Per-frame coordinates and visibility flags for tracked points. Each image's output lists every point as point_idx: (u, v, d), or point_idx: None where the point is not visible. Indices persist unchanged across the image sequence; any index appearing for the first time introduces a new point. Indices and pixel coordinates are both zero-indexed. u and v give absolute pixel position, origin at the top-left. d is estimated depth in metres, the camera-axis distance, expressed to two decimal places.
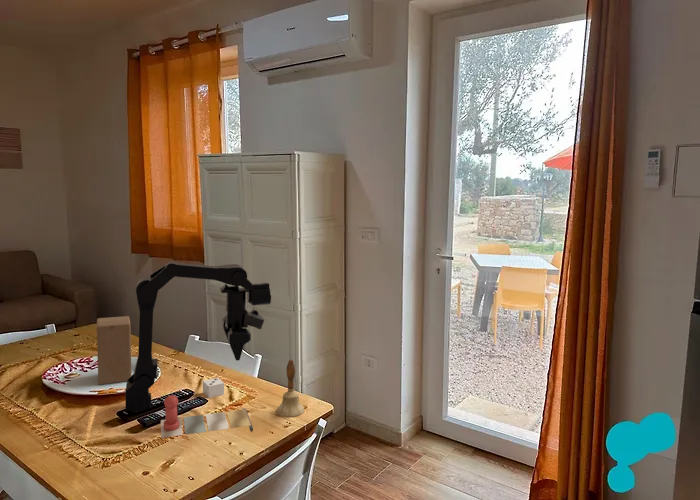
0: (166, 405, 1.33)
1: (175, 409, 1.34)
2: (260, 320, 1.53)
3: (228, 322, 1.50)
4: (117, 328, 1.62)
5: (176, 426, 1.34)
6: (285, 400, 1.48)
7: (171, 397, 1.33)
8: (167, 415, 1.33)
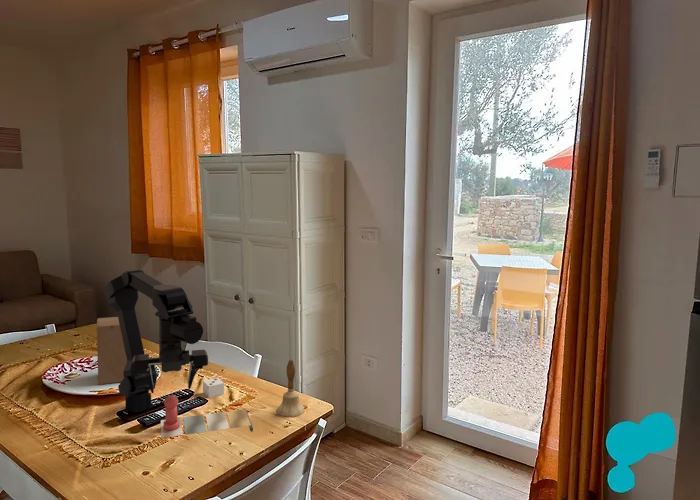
0: (166, 405, 1.33)
1: (175, 409, 1.34)
2: (161, 360, 1.25)
3: None
4: (117, 328, 1.62)
5: (176, 426, 1.34)
6: (285, 400, 1.48)
7: (171, 397, 1.33)
8: (167, 415, 1.33)
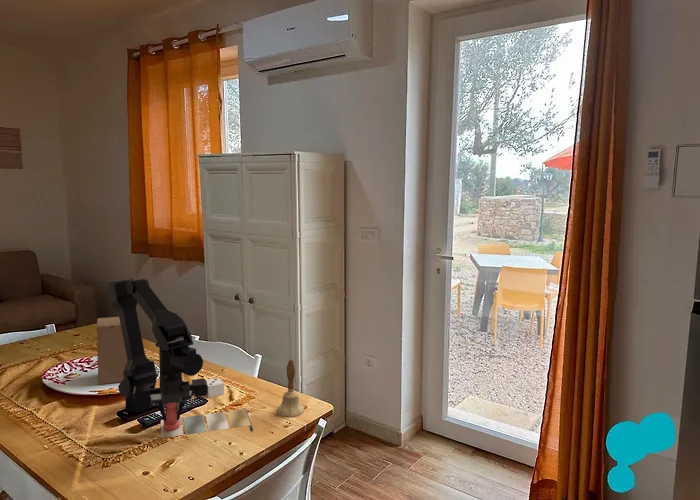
0: (166, 405, 1.33)
1: (175, 409, 1.34)
2: (161, 392, 1.26)
3: None
4: (117, 328, 1.62)
5: (176, 426, 1.34)
6: (285, 400, 1.48)
7: None
8: (167, 415, 1.33)
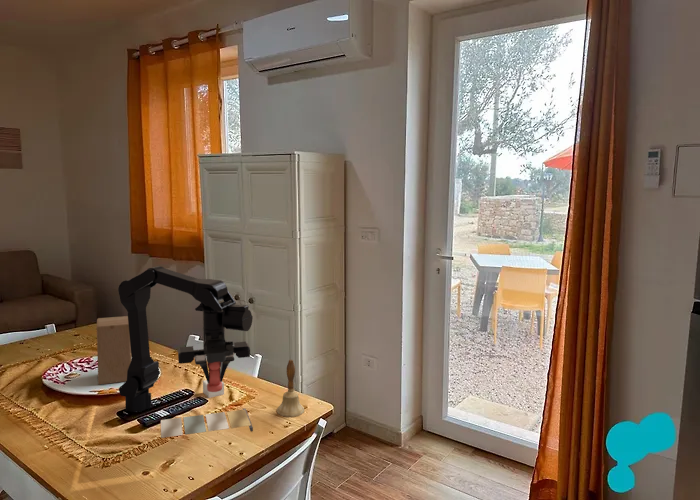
0: (210, 366, 1.35)
1: (218, 371, 1.36)
2: (206, 351, 1.28)
3: None
4: (117, 328, 1.62)
5: (219, 387, 1.36)
6: (285, 400, 1.48)
7: None
8: (211, 376, 1.36)
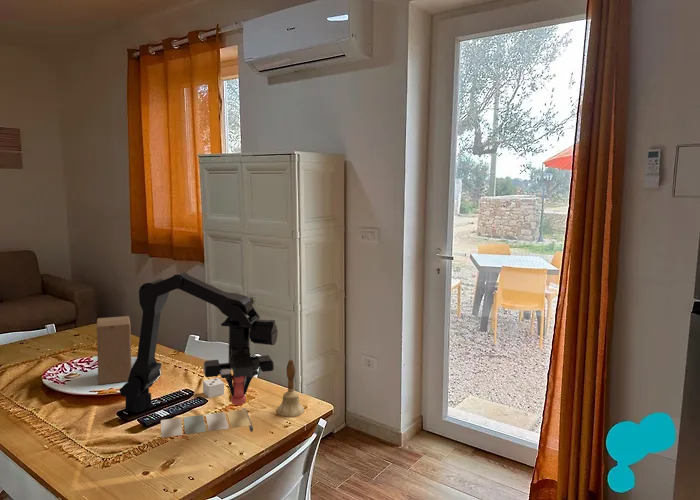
0: (234, 380, 1.38)
1: (242, 384, 1.40)
2: (233, 366, 1.32)
3: None
4: (117, 328, 1.62)
5: (243, 400, 1.40)
6: (285, 400, 1.48)
7: None
8: (235, 389, 1.39)
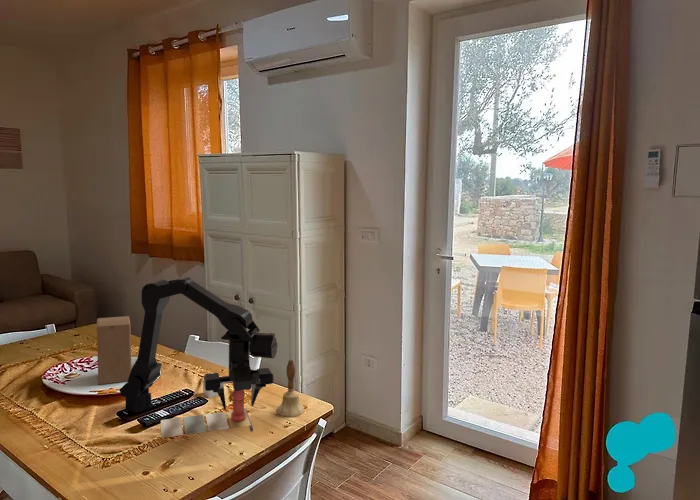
0: (234, 397, 1.39)
1: (242, 401, 1.40)
2: (233, 380, 1.32)
3: None
4: (117, 328, 1.62)
5: (243, 417, 1.41)
6: (285, 400, 1.48)
7: None
8: (235, 407, 1.40)
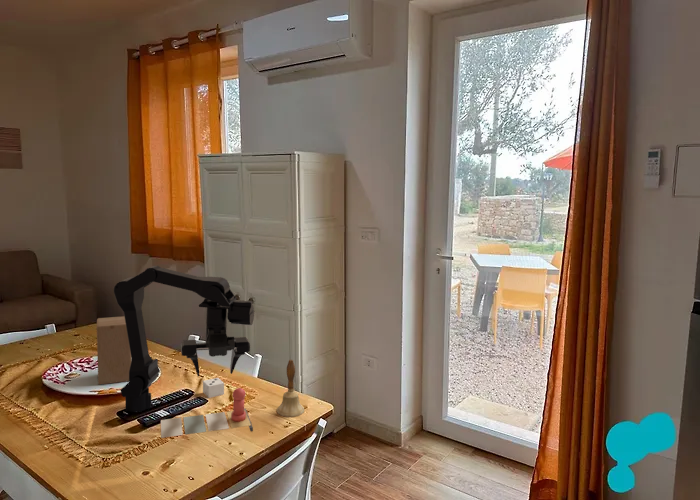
0: (235, 397, 1.39)
1: (243, 401, 1.40)
2: (209, 345, 1.35)
3: None
4: (117, 328, 1.62)
5: (243, 417, 1.41)
6: (285, 400, 1.48)
7: (239, 389, 1.40)
8: (235, 407, 1.40)
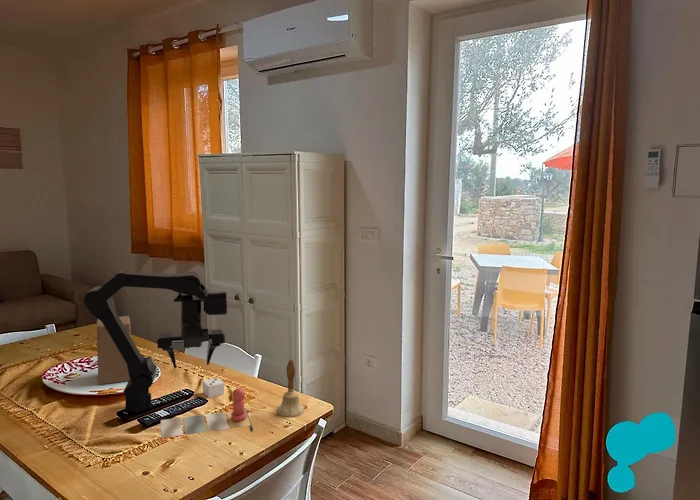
0: (235, 397, 1.39)
1: (243, 401, 1.40)
2: (184, 337, 1.39)
3: None
4: None
5: (243, 417, 1.41)
6: (285, 400, 1.48)
7: (239, 390, 1.40)
8: (235, 407, 1.40)
